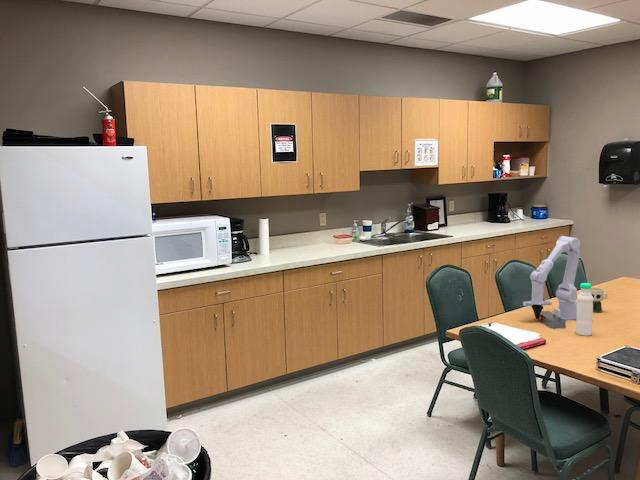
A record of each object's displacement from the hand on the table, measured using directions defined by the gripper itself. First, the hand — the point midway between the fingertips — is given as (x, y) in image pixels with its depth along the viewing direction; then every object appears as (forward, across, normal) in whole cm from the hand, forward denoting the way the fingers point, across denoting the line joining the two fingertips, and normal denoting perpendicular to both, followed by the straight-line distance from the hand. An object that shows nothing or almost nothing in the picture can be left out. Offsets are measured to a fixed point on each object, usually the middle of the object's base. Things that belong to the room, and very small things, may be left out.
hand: (536, 318), depth 274 cm
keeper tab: (-3, +7, -8) cm, 11 cm away
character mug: (+2, +40, +15) cm, 43 cm away
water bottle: (+2, +13, -23) cm, 26 cm away
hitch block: (+1, +5, -4) cm, 7 cm away
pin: (+1, +6, 0) cm, 7 cm away
